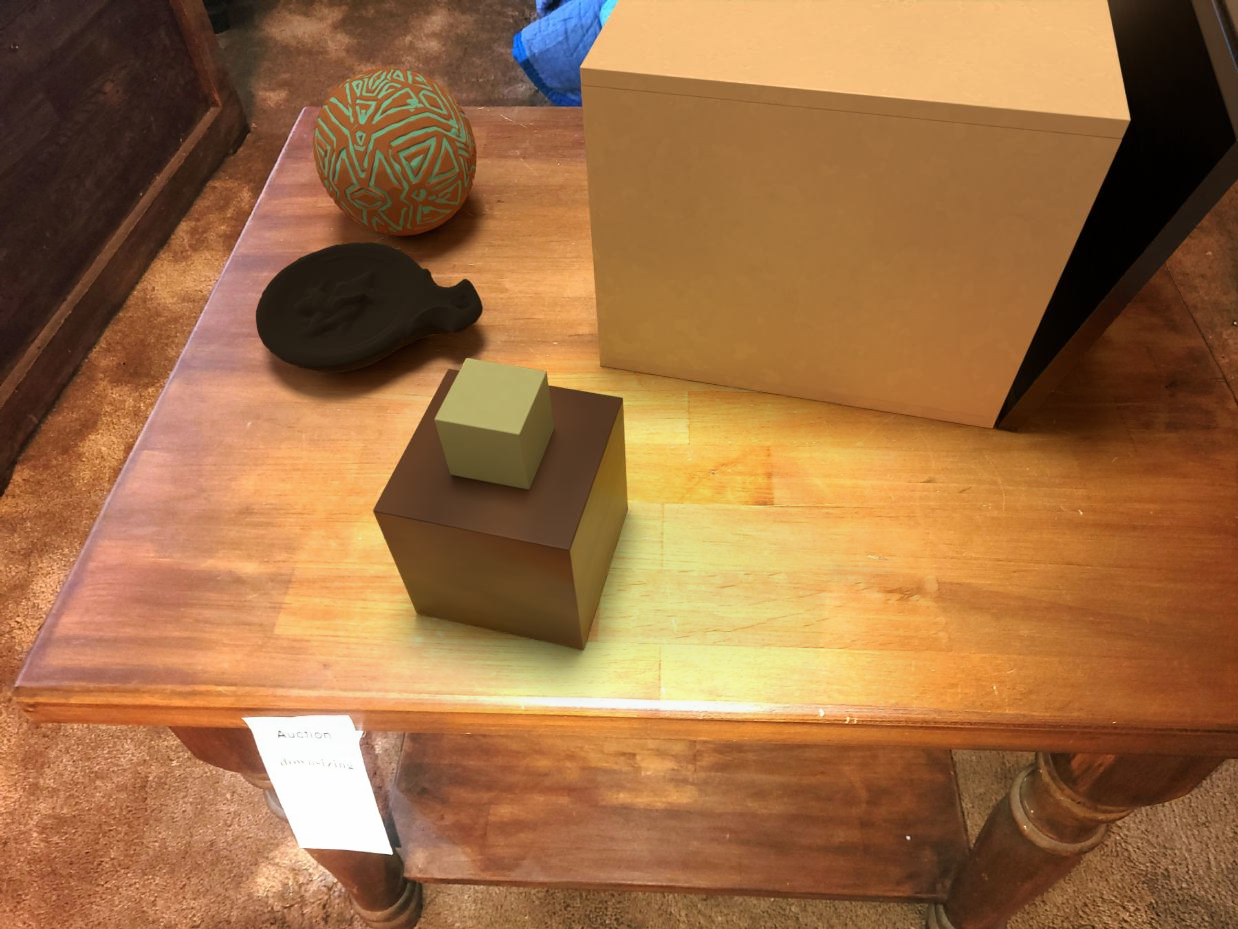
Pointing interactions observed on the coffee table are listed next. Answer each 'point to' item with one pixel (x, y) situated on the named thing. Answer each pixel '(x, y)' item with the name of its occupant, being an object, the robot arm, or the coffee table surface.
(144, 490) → the coffee table surface
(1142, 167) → the oven door
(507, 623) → the stand
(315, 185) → the coffee table surface
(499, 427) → the block
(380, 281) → the oil lamp
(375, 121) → the decorative sphere
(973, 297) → the oven
